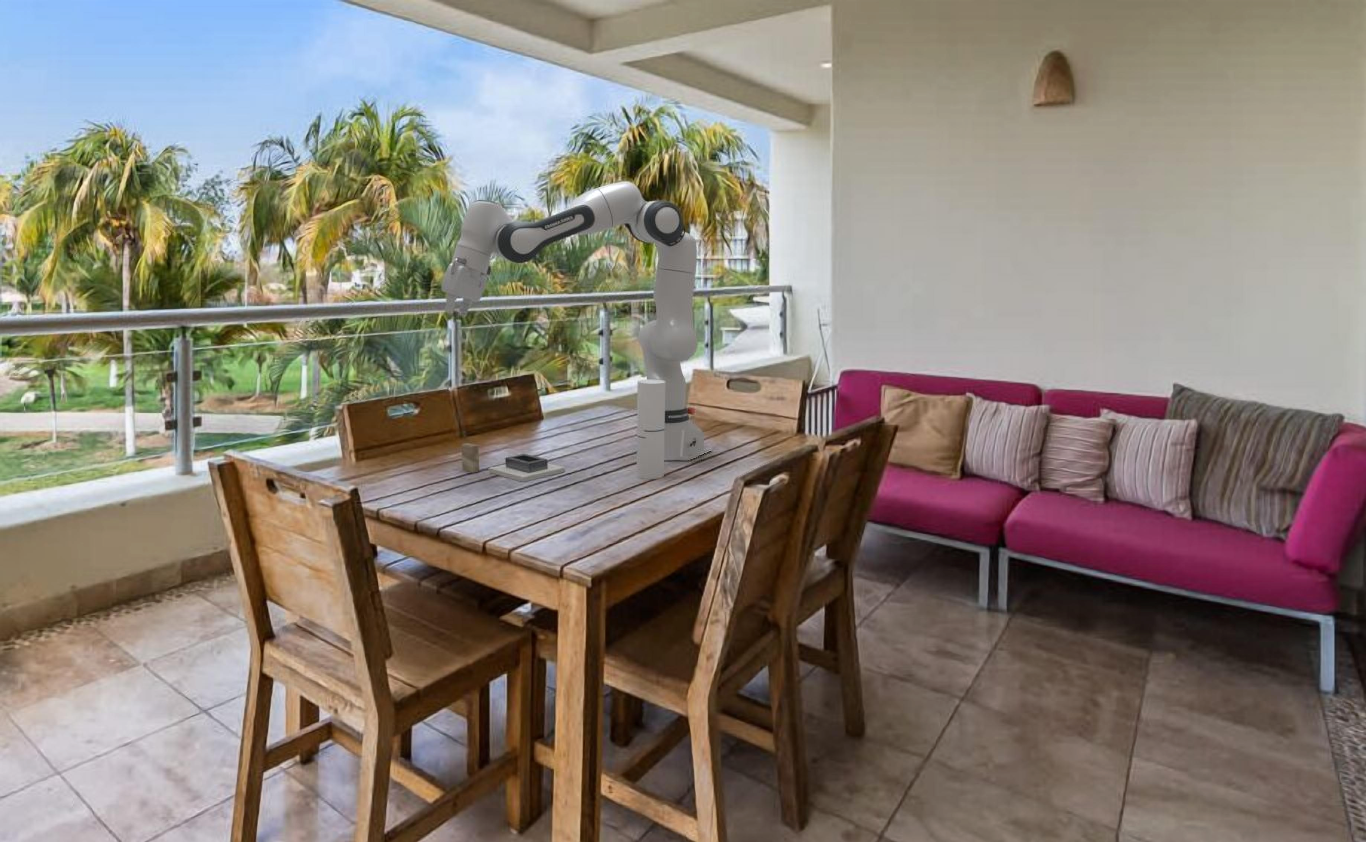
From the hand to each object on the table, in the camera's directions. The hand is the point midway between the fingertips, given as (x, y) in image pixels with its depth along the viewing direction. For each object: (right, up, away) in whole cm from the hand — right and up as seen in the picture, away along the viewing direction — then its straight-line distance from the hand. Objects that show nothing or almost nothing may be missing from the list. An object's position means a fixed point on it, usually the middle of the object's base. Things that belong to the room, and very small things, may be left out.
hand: (455, 314), depth 208 cm
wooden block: (+2, -40, +8) cm, 41 cm away
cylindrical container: (+50, -42, +7) cm, 65 cm away
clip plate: (+17, -41, +8) cm, 45 cm away
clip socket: (+17, -40, +7) cm, 44 cm away
